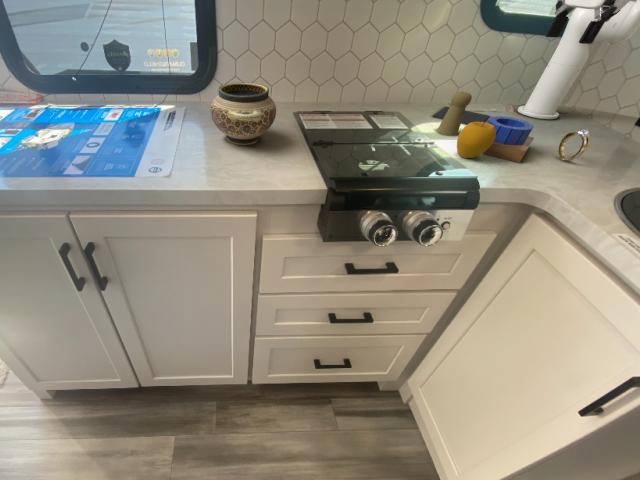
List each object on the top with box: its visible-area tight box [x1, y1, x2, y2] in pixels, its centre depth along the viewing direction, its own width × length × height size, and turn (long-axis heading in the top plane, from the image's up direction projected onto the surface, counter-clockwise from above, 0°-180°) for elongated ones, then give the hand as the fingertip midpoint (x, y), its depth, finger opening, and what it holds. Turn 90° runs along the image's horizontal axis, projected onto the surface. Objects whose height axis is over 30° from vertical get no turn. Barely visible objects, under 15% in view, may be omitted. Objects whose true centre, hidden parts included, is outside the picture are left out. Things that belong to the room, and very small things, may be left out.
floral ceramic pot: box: [209, 82, 277, 146], centre depth 94 cm, size 24×18×15 cm
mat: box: [432, 106, 490, 126], centre depth 120 cm, size 15×15×1 cm
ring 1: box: [485, 115, 535, 145], centre depth 96 cm, size 11×11×4 cm
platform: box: [482, 135, 535, 163], centre depth 99 cm, size 14×14×3 cm
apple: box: [456, 121, 496, 159], centre depth 91 cm, size 9×8×9 cm
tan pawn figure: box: [436, 91, 473, 137], centre depth 105 cm, size 6×6×11 cm
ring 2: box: [558, 127, 591, 161], centre depth 92 cm, size 7×3×8 cm, turn 179°
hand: (567, 40), depth 83 cm, fingers open, 9 cm apart
